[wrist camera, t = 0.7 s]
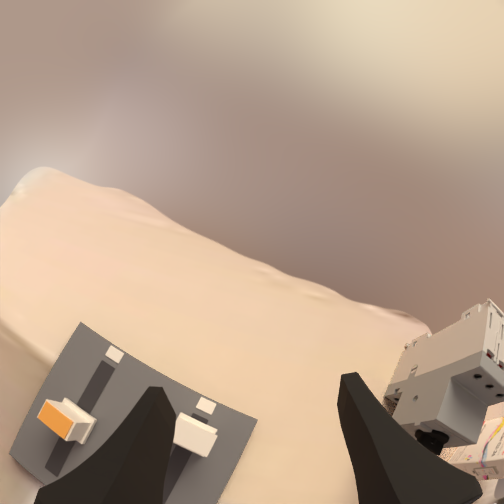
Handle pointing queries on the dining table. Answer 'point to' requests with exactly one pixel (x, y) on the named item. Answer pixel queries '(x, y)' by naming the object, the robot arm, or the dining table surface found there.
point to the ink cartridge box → (483, 453)
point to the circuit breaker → (451, 380)
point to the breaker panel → (116, 410)
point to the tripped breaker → (67, 420)
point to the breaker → (194, 435)
